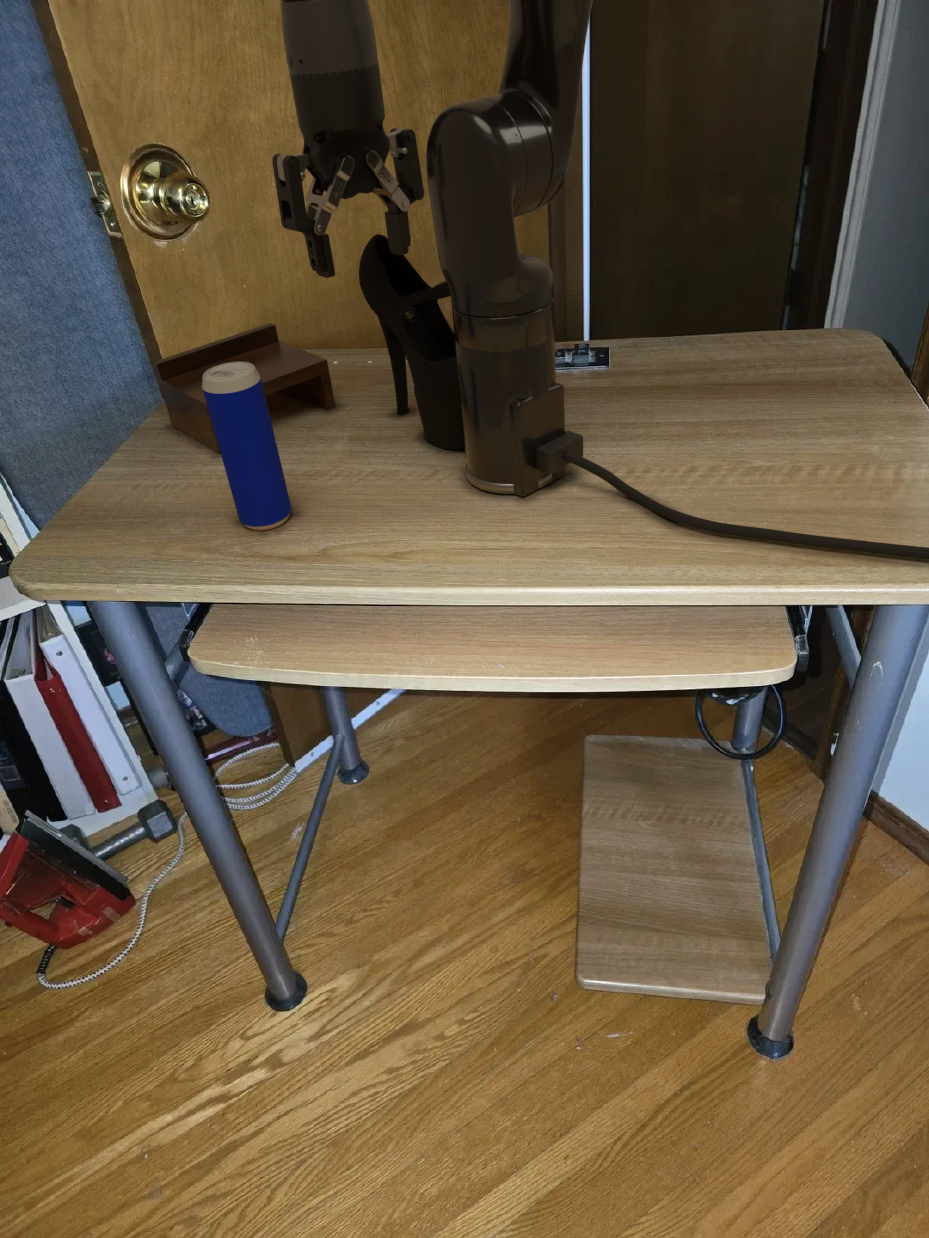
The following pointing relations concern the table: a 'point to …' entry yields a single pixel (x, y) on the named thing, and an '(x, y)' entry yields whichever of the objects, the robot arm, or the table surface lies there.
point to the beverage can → (247, 444)
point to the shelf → (254, 346)
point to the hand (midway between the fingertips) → (363, 264)
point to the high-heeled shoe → (415, 340)
